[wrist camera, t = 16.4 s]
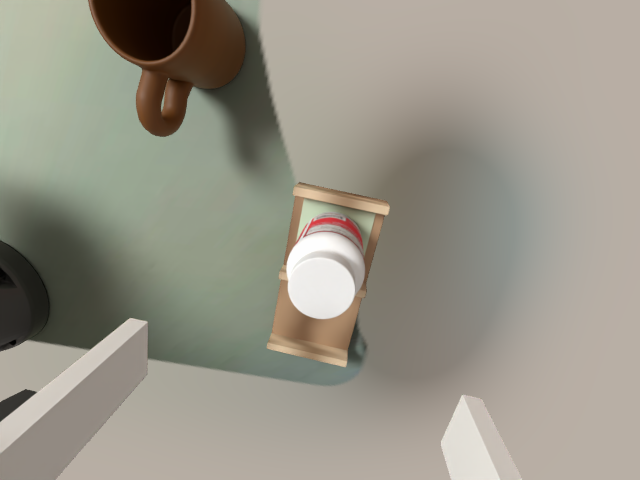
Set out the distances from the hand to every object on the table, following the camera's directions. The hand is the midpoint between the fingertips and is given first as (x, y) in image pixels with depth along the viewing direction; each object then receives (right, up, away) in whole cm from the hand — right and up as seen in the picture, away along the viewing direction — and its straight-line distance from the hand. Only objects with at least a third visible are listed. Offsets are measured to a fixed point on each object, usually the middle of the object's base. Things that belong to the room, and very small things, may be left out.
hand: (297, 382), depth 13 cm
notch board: (+1, +2, +21) cm, 21 cm away
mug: (-10, +22, +16) cm, 29 cm away
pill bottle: (+2, +6, +19) cm, 20 cm away
